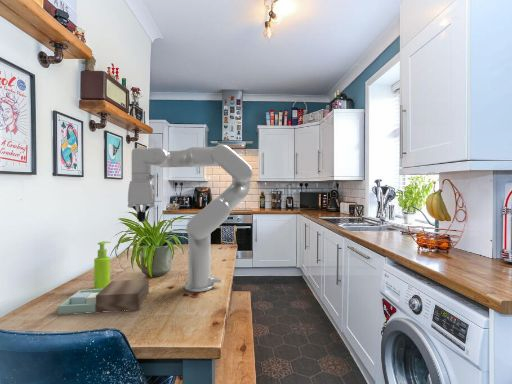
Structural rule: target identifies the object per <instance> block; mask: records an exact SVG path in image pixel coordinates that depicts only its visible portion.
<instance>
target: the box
mask: <svg viewBox="0 0 512 384" xmlns="http://www.w3.org/2000/svg"><path fill="white" fill-rule="evenodd" d="M102 290H103V289H94V288H93V289H92V288H91V289H79V290H78V291H76V292H75V293H74V294H72V295H71V296H70V297H69V298H67V299H66V300H64V301H63V302H62V303H61V304H59V305H58V306H57V316H62V315H61V314H69V315H75V314H74V313H86V312H96V303H93V304H75V305H71V297H72V296H74V295H75V294H77V293H83V292H92V293H99V292H100V291H102ZM86 314H87V313H86Z"/></svg>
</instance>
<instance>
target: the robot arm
mask: <svg viewBox="0 0 512 384" xmlns="http://www.w3.org/2000/svg"><path fill="white" fill-rule="evenodd" d="M152 166H155V167H160V168H196V167H197V168H198V167H201V168H202V167H221V168H222V169H223V170H224V171H225V172H226V173H228V174H229V176H230V177H232V178H231V179H232V181H231V183H230V185H229V186H228V187H227V188H226V189H225V190H224V191H223V192H222V193H221V194H220V195H218V196H217V197H215V198H214V199H212V200H210V202H209V203H208V204H207V205H206V206H204V208H202V209H201V210H200V211H198V213H196V214H195V215H193V216H192V217H190V218H189V220H188V222H187V224H186V228H185V229H186V233H187V235H188V238H187V241H188V242H187V243H188V244H187V247H188V248H187V250H188V252H187V255H188V257H187V258H188V259H187V260H188V261H187V262H188V263H187V264H188V265H187V266H188V267H187V268H188V269H187V271H188V272H187V274H188V275H187V276H188V277H187V279H188V281H187V283H185V284H184V289H185V290H186V291H188V292H193V293H198V292H199V293H201V292H207V291H209V290H212V289H213V288H214V287H215V284H220V283H222V278H220V277H218V276H217V277H213V276H212V272H211V270H212V269H211V265H212V264H211V263H212V262H211V244H212V243H211V238H212V237H211V234H212V232H214V231H215V230H217V228H218V227H220V226H221V225H222V224H223V223H224V222H225V221H226V220H227V219H228V218H229V217H230V215H231V212H232V211H233V210H234V209H235V208H236V207H237V206H238V205H239V204H240V203H241V202H243V200H244V199H245V198H246V197H247V196H248V194H249V192H250V189H251V179H252V177H253V168H252V167H251V165H250V164H249V163H248V162H247V161H245V160H244V159H243V158H242V157H241V156H240V155H239V154H238V153H236V152H235V151H234V150H233V149H232V148H231V147H229V146H228V145H226V144H223V143H221V144H217V145H215V146H192V147H189V148H187V149H183V150H166V149H164V148H162V147H153V148H143V147H135V148H133V149H132V150H131V180H129V184H128V192H127V203H128V204H127V207H128V208H129V209H130V208H131V209H133V210H134V211H136V215H137V217H136V218H137V221H138V222H145V220H146V213H147V211H148V210H149V209H151V208H154V207H155V206H156V204H155V202H156V201H155V200H156V197H155V196H156V195H155V186H154V181H152V179H155V175H153V174H152V171H151V170H152V168H151V167H152ZM141 206H142V208H141Z"/></svg>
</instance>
